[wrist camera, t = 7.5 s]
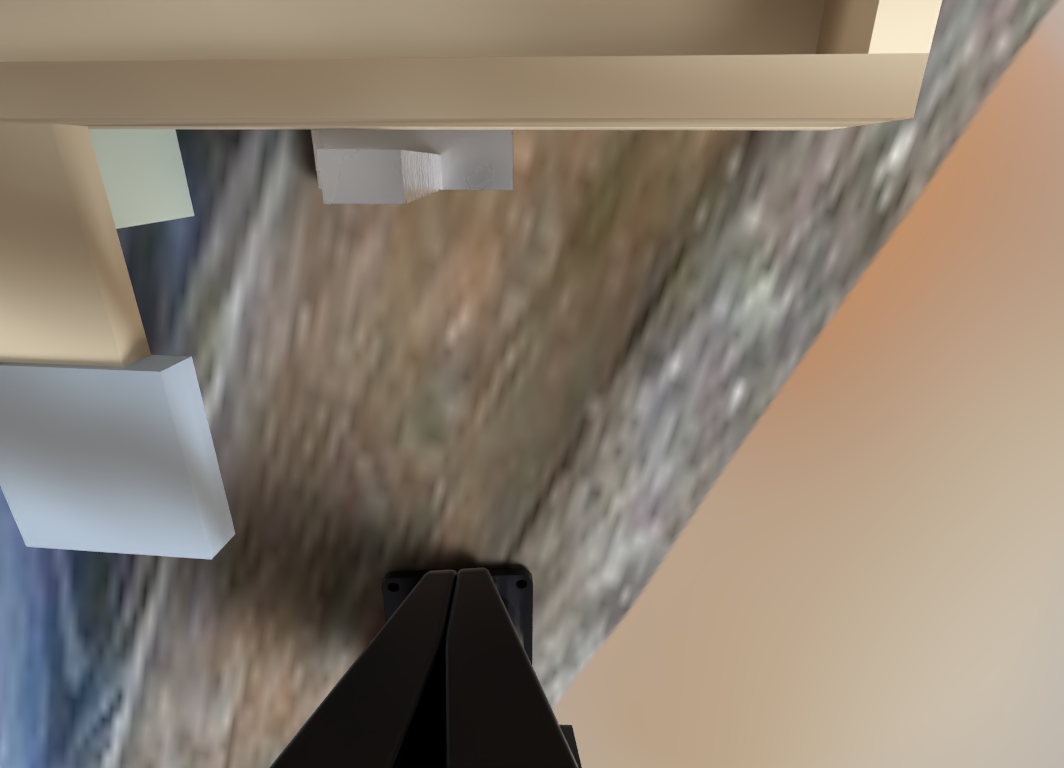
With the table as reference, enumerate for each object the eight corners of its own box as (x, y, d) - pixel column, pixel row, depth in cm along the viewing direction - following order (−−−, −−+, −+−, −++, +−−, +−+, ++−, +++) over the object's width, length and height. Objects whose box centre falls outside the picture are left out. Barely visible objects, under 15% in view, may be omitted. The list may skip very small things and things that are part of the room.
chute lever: (720, 479, 17) (786, 633, 11) (152, 450, 18) (-33, 572, 13) (843, -284, 10) (1136, -792, 5) (-50, -232, 12) (-598, -574, 6)
